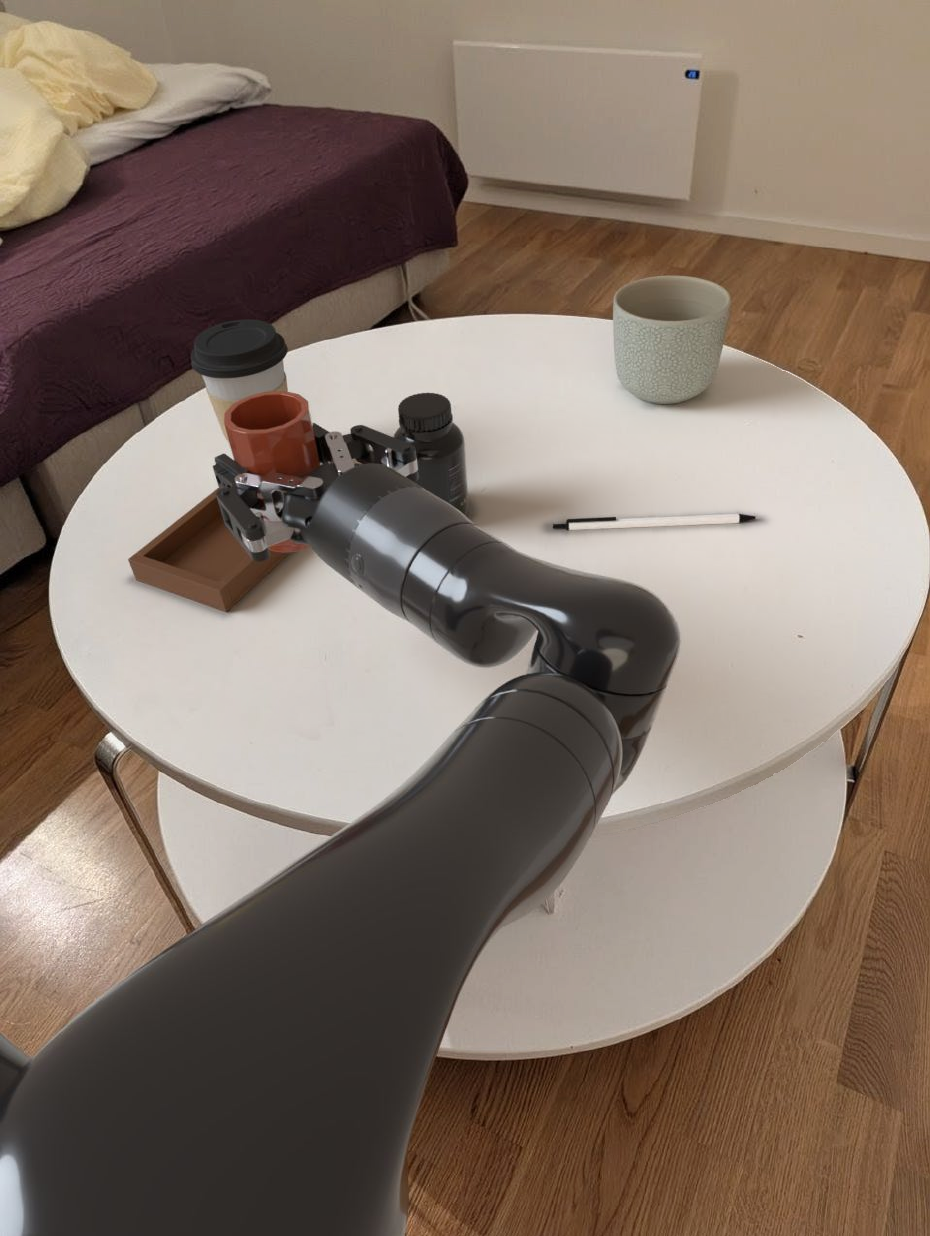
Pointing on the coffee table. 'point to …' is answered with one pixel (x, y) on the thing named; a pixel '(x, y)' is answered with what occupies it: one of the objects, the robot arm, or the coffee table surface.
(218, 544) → the tray
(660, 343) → the planter
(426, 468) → the supplement bottle
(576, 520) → the pen
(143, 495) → the coffee table surface
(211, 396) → the coffee cup
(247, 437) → the tumbler
